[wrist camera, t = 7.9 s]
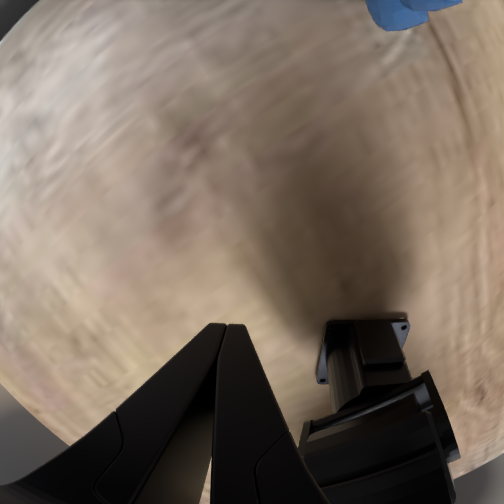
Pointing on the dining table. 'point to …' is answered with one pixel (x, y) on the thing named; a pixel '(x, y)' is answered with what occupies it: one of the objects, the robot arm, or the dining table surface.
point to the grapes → (404, 12)
